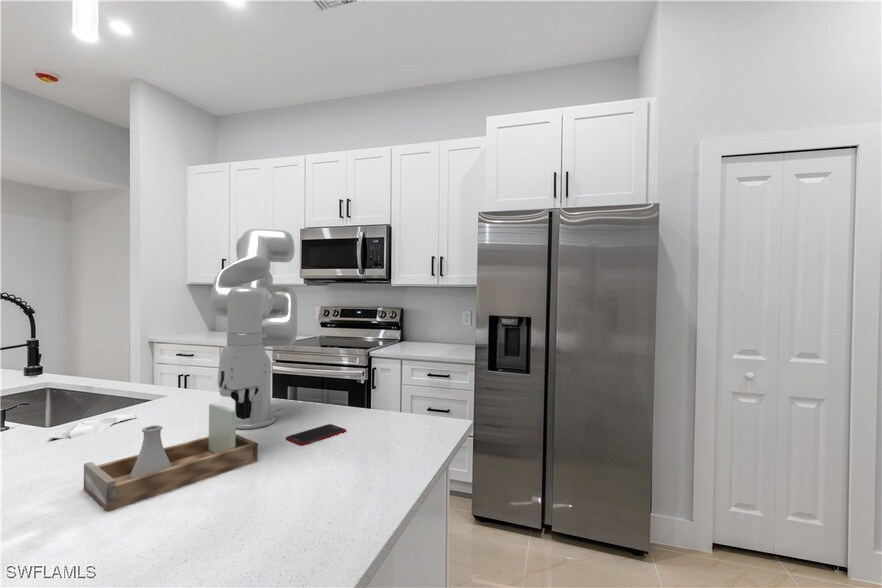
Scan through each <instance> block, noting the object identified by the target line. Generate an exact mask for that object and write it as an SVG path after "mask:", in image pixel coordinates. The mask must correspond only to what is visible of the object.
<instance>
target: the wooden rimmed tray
mask: <svg viewBox="0 0 882 588" xmlns="http://www.w3.org/2000/svg"><path fill="white" fill-rule="evenodd" d="M163 448H164V450H165V453H166V455H167V457H168V459H169V461H170V464H171V466H172V467H170V468H166V469H163V470H160V471H156V472H153V473H149V474H146V475H143V476H139V477H136V478H133V479H129V476H130V474H131V472H132V469H133V467H134V465H135V463H136V460H137V458H138V456H139V454H136V455H132V456H128V457H125V458H121V459H116V460H113V461H108V462H105V463H101V464H98V465H97V464H95V463H94V462H93V461H89V462H86V463H83V490H84V491H85V493H86V494H88V496H90V497H91V498H92V499H93V500H94V501H95V502H96V504H98V505H99V506H100V507H101V508H102V509H103V510H104V511H106V512H110V511H113V510H116V509H119V508H121V507H124V506H128V505H130V504H133V503H136V502H139V501H143V500H145V499H148V498H151V497H154V496H158V495H160V494H163V493H166V492H170V491H172V490H175V489H178V488H181V487H184V486H187V485H190V484H192V483H197V482H199V481H202V480H205V479H208V478H211V477H214V476H217V475H221V474H223V473H225V472H228V471H231V470H234V469H238V468H241V467H243V466H246V465H249V464H253V463H256V462H258V461H259V443H258V442H256V441H253V440H251V439H249V438H246V437H243V436H241V435H239V434H237V433H236V434H235V448H234V449H230V450H227V451H224V452H220V453H217V454H215V453H213V452H211V451H209V450H208V449H209V435H208V436H205V437H202V438H197V439H194V440H190V441H186V442H182V443H179V444H174V445H170V446H168V447H163ZM128 479H129V480H128Z"/></svg>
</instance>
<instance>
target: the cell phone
mask: <svg viewBox="0 0 882 588" xmlns="http://www.w3.org/2000/svg"><path fill="white" fill-rule="evenodd" d="M344 432H345V433H347V428H343V427H341V426H338V425H334V424H332V423H327V424H324V425H321V426H318V427H315V428H311V429H307V430H304V431H300V432H298V433H294V434H290V435H287V436H285V441H288V442H289V443H291V444H294V445H297V446H299V447H303V446H304V445H305V446H308V445H311V444H313V442H314V443H315V442H316V441H317V442H320V441H323V440H326V439H329V438H333V437H336V436H339V435H341V434H340V433H342V434H344ZM338 434H339V435H338ZM335 435H336V436H335ZM332 436H333V437H332ZM307 444H308V445H307Z"/></svg>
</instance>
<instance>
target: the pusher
mask: <svg viewBox="0 0 882 588" xmlns="http://www.w3.org/2000/svg"><path fill="white" fill-rule="evenodd" d="M236 429H237V428H236V411H235V409H231V408H228V407H225V406H222V405H219V404H218V403H212V402H211V403H209V405H208V436H209V449H208V450H209V451H211V452H213V453H215V454H217V453H220V452H224V451H227V450H230V449H234V448H235V434H237V433H236Z"/></svg>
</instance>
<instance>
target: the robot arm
mask: <svg viewBox="0 0 882 588" xmlns="http://www.w3.org/2000/svg"><path fill="white" fill-rule="evenodd" d="M235 250H236V252H235V253H236V258H237V260H235V261H233V262H231V263H230V264H228V265H227V266H225V267H224V268H223V269H221V270H220V271H219V272H218V273H217V274H216V276H215V278H214V280H213V283H212V288H211V293H210V299H209V306H210V309H211V312H212V313H213V315H216V316H217V317H222V318H223V317H224V318H226V321H227V322H226V346H223V347H222V349H221V353H220V358H219V363H218V372H217V387H218V389H220V392H219V395H220V396H221V397H223V398H224V397H225V398H231V399H233V401H234V411H236V429H239V430H240V429H241V430H248V429H249V430H252V429H259V428H263V427H267V426H270V425H272V424H274V423H275V422H276V420H277V419H276V418H277V416H276V415H275V414H276V413H277V412H280V411H284V410H286V404H285V403H280V404H276V403H273V404H272V403H271V394H272V393H271V386H272V385H271V384H272V383H271V381H272V379H271V378H272V374H271V373H272V362H271V359H270V357H269V355H268V354H267V352H266V349H265V348H269V347H270V348H272V347H288V346H292V345H293V344H294V343H296V341H297V336H298V296H297V293H296V291H295V289H293V288H292V287H289V286H284V285H283V286H278V285H276V286H275V285H273V283H274V282H273V280H274V278H273V275H272V274H271V272H270V269H271V263H290V262H291V261H293V259H294V256H295V241H294V238H293V236H292V235H291V233H290V232H288V231H286V230H282V229H281V230H280V229H279V230H278V229H268V228H267V229H265V228H251V229H249V230H246V231H245V232H244V233H243V234H242V236H240V237H239V238H238V239H237V241H236V247H235Z"/></svg>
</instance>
